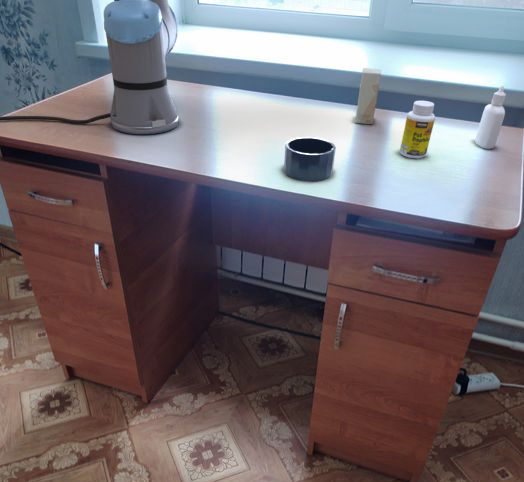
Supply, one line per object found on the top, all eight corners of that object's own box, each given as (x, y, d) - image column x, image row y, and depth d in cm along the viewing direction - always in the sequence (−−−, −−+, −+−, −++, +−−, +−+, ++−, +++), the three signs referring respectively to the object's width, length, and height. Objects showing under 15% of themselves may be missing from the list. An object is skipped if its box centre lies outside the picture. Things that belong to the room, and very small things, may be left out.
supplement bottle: (406, 160, 105) (417, 107, 98) (395, 150, 109) (405, 99, 102) (430, 158, 106) (443, 106, 99) (418, 149, 110) (430, 98, 103)
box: (372, 125, 121) (381, 74, 114) (354, 123, 122) (361, 72, 115) (373, 118, 125) (381, 68, 118) (356, 116, 126) (363, 67, 119)
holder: (278, 177, 96) (280, 150, 93) (290, 159, 103) (292, 134, 100) (327, 184, 94) (330, 157, 91) (336, 166, 101) (339, 140, 98)
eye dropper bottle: (494, 142, 114) (513, 84, 107) (493, 150, 111) (513, 91, 103) (474, 139, 116) (492, 82, 108) (472, 147, 112) (490, 88, 104)
